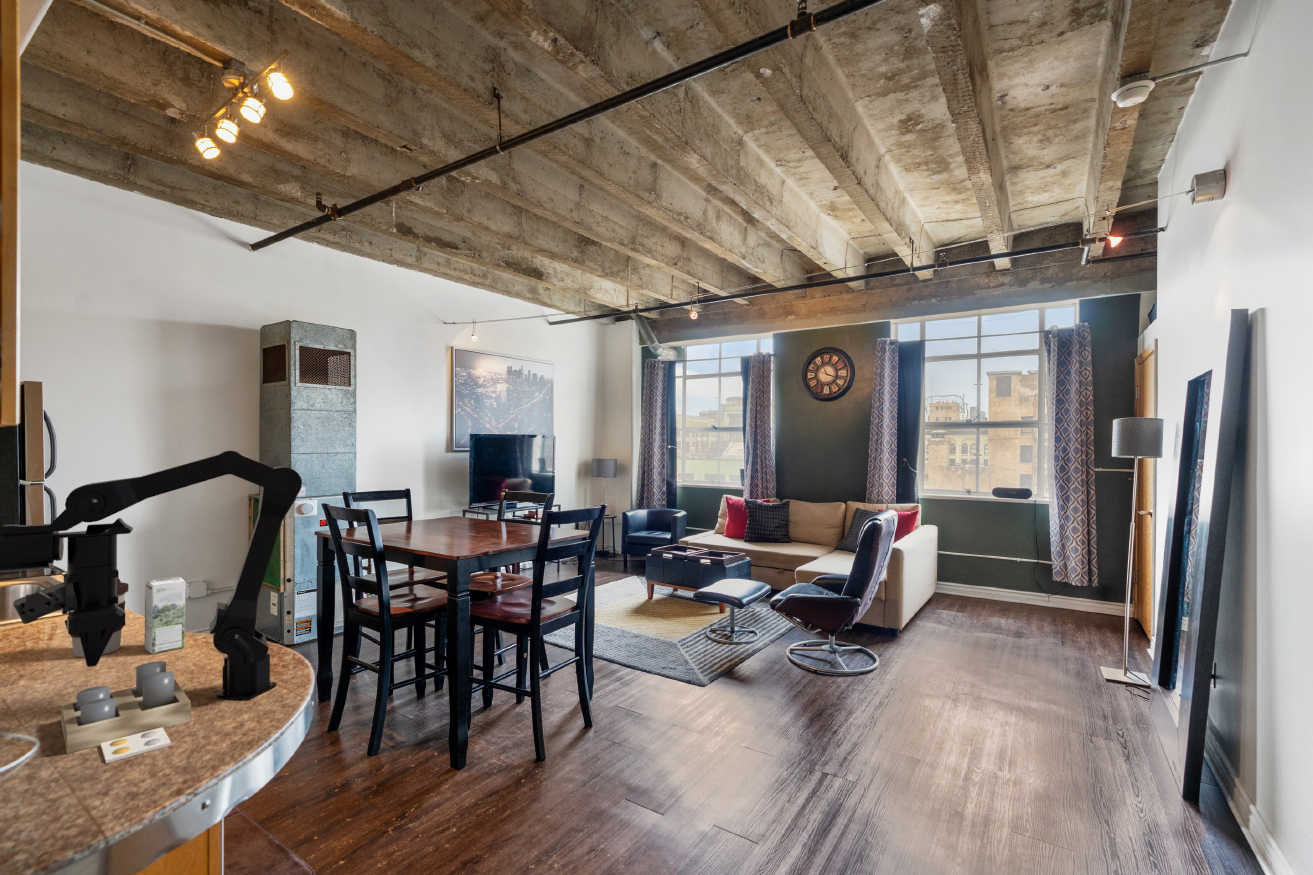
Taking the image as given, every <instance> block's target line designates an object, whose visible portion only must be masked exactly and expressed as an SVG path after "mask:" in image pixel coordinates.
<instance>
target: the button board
mask: <svg viewBox="0 0 1313 875" xmlns="http://www.w3.org/2000/svg"><path fill="white" fill-rule="evenodd" d="M110 698H112V699H115V718H111V719H107V720H103V721H99V722H95V723H91V724H86V725H82V726H81V711H77V699H76V700H71V701H65V702H61V703H60V716H61V717H60V724H61V728H62V735H63V740H64V745H65V746H64V747H65V750H66V752H65V753H66V754H71V753H75V752H78V751H79V752H80V751H82V750H86V749H90V748H95V747H98V746H101V743H104V742H108V741H111V740H115V739H119V738H123V737H127V736H131V735H134V734H138V733H142V732H146V731H150V730H154V729H157V728H161V727H163V729H166V728H167V729H168V728H170V727H175V726H179V725H182V724H186V723H189V722H192V702H191V700H190V699H189V697H188V696H187V694H186V693H185V691H184V690H183V688H182V687H181V686H180V684H179V683H178V681H177V680H176V679H175V678H174V701H173V702H171V703H169V704H167V705H164V706H160V707H155V708H144V707H143V695H137V694H136V686H134V687H130V688H125V689H121V690H116V691H112V692H111V691H110Z"/></svg>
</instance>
